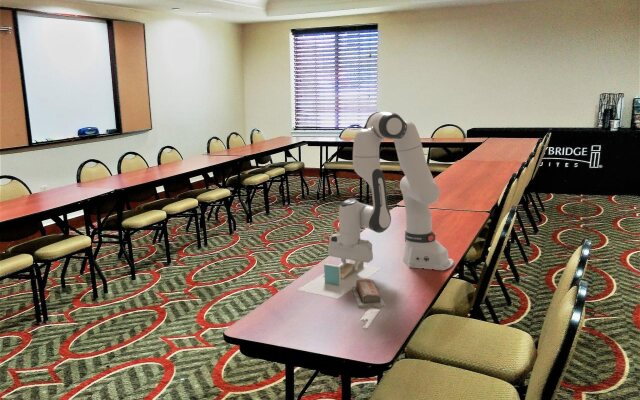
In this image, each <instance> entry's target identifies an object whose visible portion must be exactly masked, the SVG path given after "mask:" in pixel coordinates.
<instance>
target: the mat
mask: <svg viewBox="0 0 640 400" xmlns="http://www.w3.org/2000/svg"><path fill="white" fill-rule="evenodd" d="M346 262H347V263H348V262H349V261H346ZM343 265H344V264H343V263H342V262H340V263H339V264H337V266H340V267H341V266H343ZM379 270H382V267H380V266H379V267H378V266H374V265H373V266H372V265H369V264H364V266H363V267H362V268H360V269H359V270H357V271H356V272H354V273H353V274H351V275H350V276H348V277H347V278H345V279H341V285H340V286H338V285H333V284H329V283H325V274H324V273H322V274H321V275H319V276H317V277H316V278H313V279H312V280H311V281H308V282H307V283H305V284H304V285H302V286H301V287H298V288H297V289H296V291H300V292H306V293H308V294H309V293H310V294H315V295H319V296H323V297H328V298H333V299H337V300H338V299H340V298H341V297H343V296H345V295H346V294H347V293H348V292H349V291H352V287H356V282H357V280H367V279H369V278H370V277H371V276H373V275H374V274H375V273H377V272H379Z"/></svg>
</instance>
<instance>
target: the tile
mask: <svg viewBox="0 0 640 400" xmlns="http://www.w3.org/2000/svg"><path fill="white" fill-rule="evenodd" d="M337 265H338V264H337ZM337 265H336V264H332V263H327V262H326V263H324V264H323V267H324V268H323V269H324V273H323V274H325V283H329V284H333V285H338V286H340V285H341V274H340V266H337Z"/></svg>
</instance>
